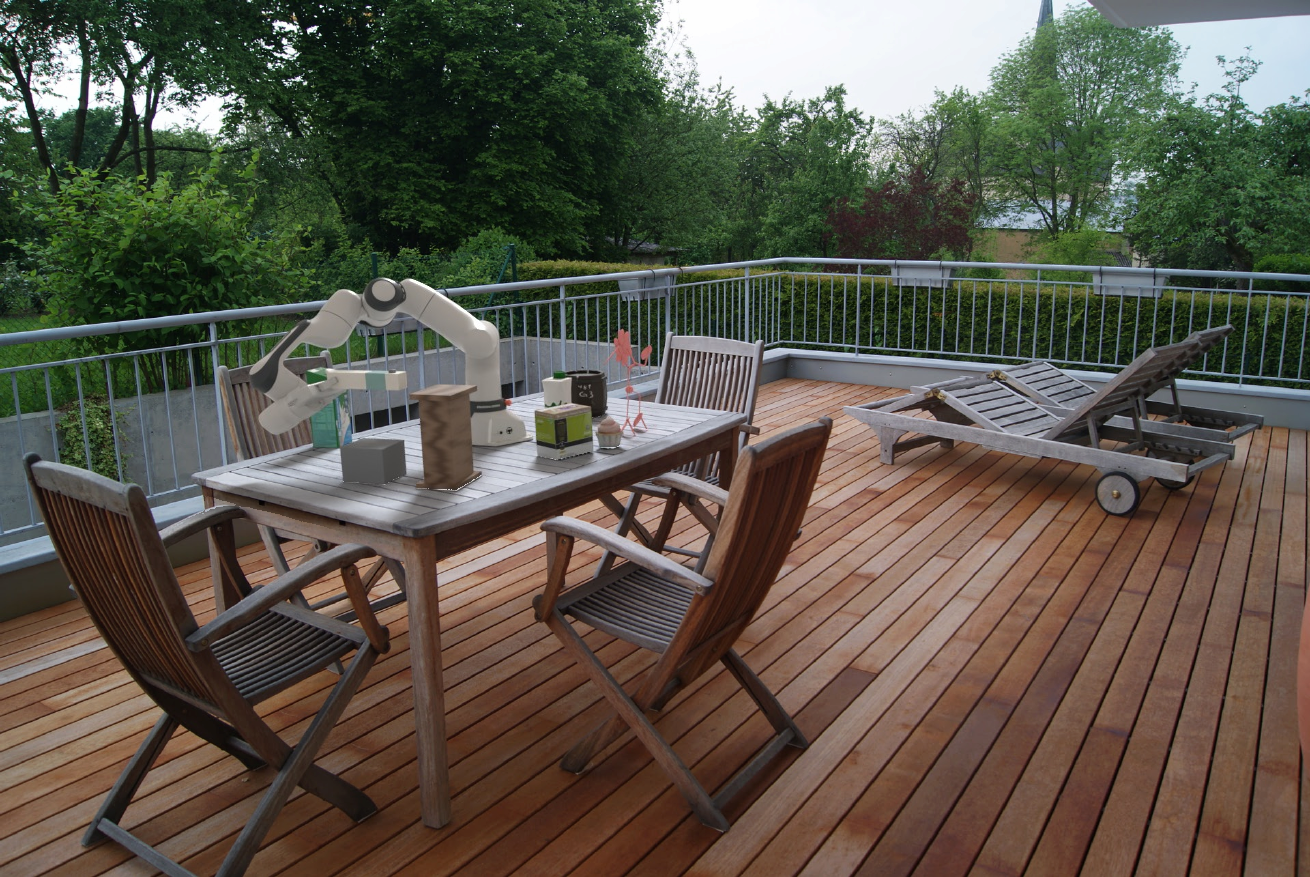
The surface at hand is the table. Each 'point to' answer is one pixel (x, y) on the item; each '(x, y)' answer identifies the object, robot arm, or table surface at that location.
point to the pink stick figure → (622, 355)
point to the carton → (369, 379)
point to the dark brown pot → (589, 390)
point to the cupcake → (609, 433)
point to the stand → (446, 436)
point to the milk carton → (330, 416)
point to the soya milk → (557, 390)
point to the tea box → (563, 431)
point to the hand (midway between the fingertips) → (342, 377)
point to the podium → (373, 460)
